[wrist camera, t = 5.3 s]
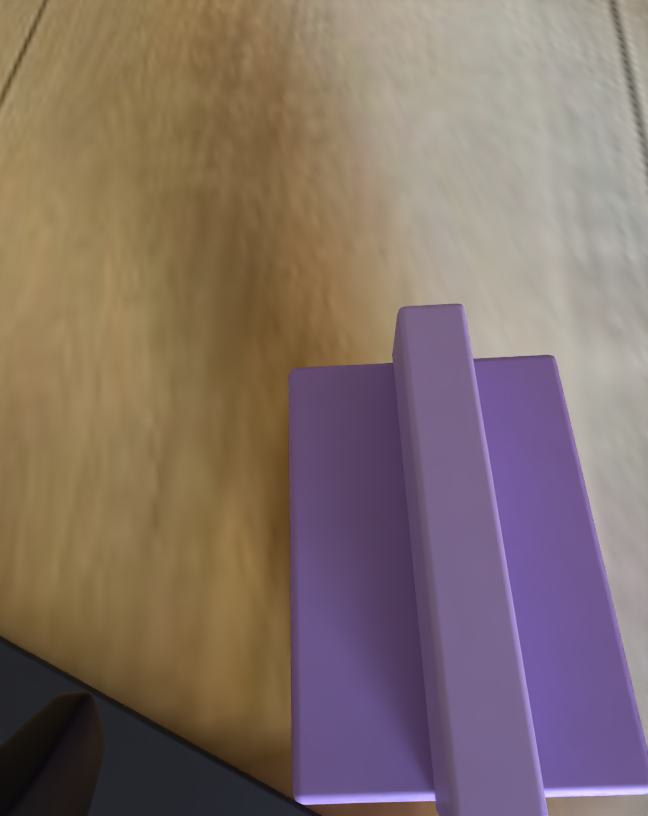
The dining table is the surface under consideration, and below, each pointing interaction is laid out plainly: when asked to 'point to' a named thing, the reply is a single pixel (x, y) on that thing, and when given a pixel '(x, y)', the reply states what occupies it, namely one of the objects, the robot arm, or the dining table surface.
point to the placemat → (138, 753)
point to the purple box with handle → (449, 587)
